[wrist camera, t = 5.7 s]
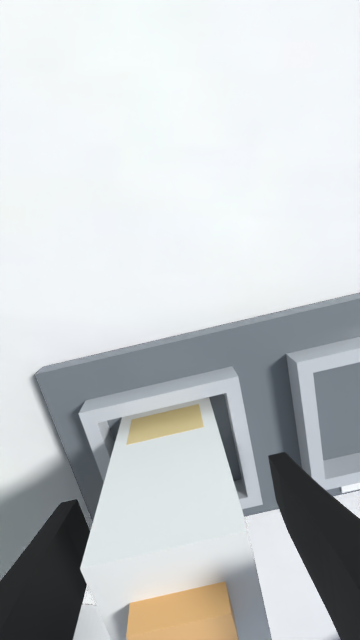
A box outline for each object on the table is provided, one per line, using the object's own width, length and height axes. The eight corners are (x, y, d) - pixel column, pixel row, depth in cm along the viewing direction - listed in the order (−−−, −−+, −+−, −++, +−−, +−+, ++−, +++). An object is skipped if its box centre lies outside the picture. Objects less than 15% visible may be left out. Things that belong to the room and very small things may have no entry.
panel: (450, 454, 14) (489, 482, 13) (106, 532, 15) (98, 570, 13) (455, 270, 12) (504, 273, 10) (42, 366, 12) (22, 385, 10)
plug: (225, 468, 13) (282, 678, 7) (144, 487, 13) (123, 712, 7) (208, 396, 12) (256, 558, 6) (121, 416, 12) (71, 601, 6)
